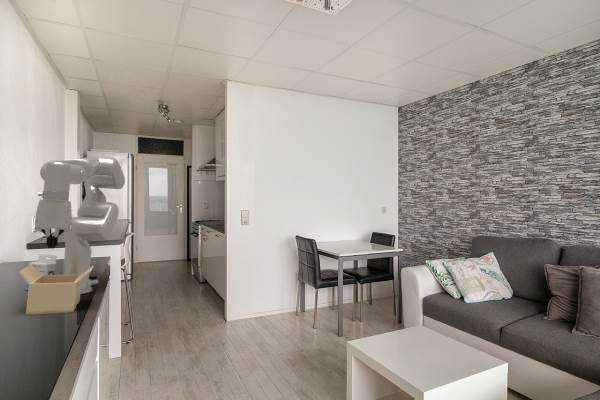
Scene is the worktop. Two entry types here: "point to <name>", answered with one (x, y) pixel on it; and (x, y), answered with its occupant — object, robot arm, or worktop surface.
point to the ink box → (44, 265)
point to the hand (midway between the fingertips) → (51, 247)
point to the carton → (53, 294)
